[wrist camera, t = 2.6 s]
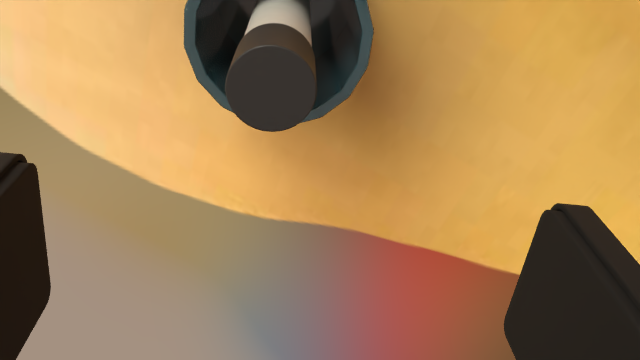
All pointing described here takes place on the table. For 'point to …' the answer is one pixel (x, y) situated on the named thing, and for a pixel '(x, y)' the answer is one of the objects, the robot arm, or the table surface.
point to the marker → (274, 67)
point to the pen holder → (326, 33)
